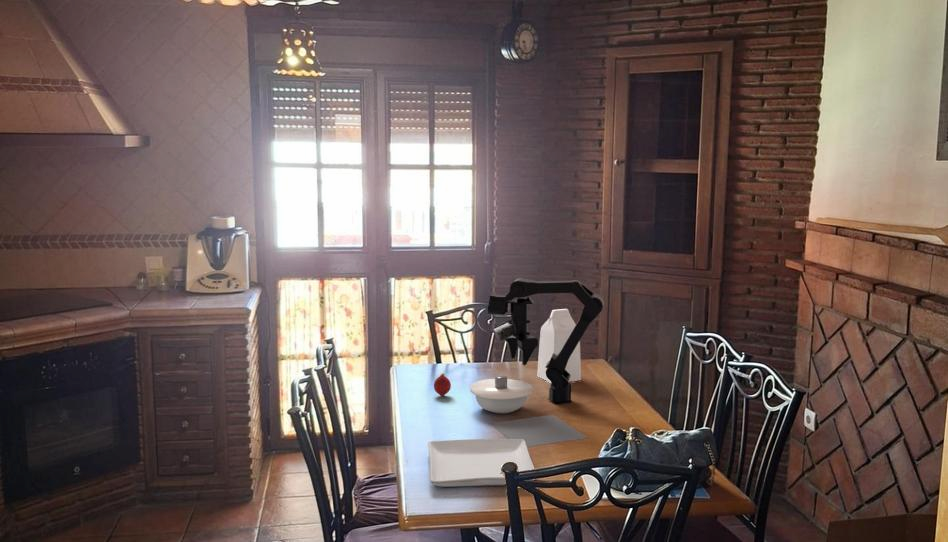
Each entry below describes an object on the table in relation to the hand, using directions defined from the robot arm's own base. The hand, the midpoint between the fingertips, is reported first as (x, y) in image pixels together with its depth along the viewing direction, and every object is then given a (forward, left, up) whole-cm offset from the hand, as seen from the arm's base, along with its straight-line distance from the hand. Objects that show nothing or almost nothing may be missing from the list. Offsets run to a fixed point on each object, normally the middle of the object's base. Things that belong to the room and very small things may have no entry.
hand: (518, 361), depth 276 cm
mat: (+8, +31, -13) cm, 35 cm away
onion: (+23, -12, -13) cm, 29 cm away
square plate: (+35, +51, -14) cm, 63 cm away
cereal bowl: (+10, +9, -13) cm, 19 cm away
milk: (-24, -16, -13) cm, 32 cm away
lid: (+10, +9, -6) cm, 15 cm away
